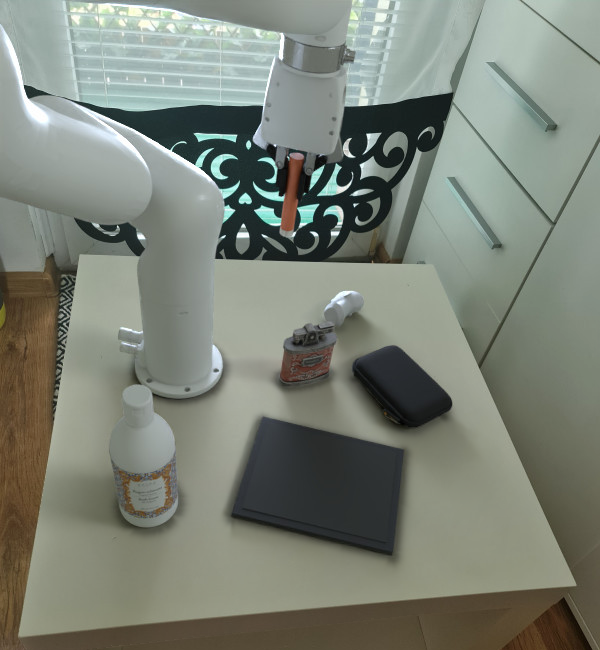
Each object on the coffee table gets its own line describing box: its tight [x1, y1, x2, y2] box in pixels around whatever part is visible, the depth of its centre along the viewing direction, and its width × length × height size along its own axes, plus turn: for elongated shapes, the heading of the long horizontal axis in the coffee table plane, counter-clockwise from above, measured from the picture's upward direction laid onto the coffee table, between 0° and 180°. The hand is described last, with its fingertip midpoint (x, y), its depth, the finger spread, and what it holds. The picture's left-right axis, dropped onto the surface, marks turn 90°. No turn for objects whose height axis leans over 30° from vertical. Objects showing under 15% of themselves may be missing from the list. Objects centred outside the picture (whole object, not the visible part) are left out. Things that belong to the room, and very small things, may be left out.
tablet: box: [231, 415, 405, 556], centre depth 80 cm, size 20×16×1 cm
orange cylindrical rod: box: [279, 152, 305, 238], centre depth 87 cm, size 2×2×12 cm
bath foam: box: [108, 384, 179, 528], centre depth 67 cm, size 7×7×20 cm
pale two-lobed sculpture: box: [323, 290, 365, 327], centre depth 101 cm, size 4×8×5 cm
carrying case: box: [351, 344, 453, 429], centre depth 91 cm, size 11×3×15 cm
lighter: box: [278, 321, 338, 388], centre depth 88 cm, size 8×3×10 cm, turn 114°
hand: (291, 193), depth 87 cm, fingers closed on orange cylindrical rod, 2 cm apart
